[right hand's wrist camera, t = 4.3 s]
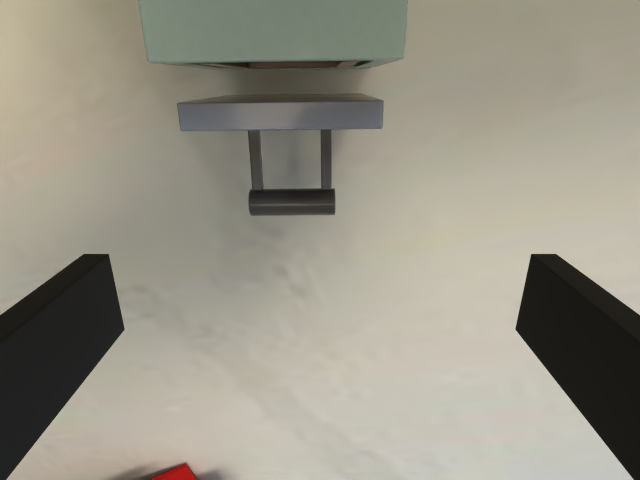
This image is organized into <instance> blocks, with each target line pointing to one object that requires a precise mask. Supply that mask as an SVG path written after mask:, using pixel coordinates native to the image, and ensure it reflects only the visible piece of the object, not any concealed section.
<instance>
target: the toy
mask: <svg viewBox="0 0 640 480" xmlns="http://www.w3.org/2000/svg"><path fill="white" fill-rule="evenodd" d="M150 480H197V479H196V477H195V476H194V475H193V473H192V472H191V470H190V469H189V467H188V466H187V465H186V464H184V465H182V466H180V467H178V468H175V469H173V470H171V471H169V472H166V473H164V474H162V475H160V476H157V477H155V478H153V479H150Z"/></svg>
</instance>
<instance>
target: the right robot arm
mask: <svg viewBox="0 0 640 480" xmlns="http://www.w3.org/2000/svg"><path fill="white" fill-rule="evenodd" d="M123 331H124V325H123V320H122V315H121V310H120V306H119V301H118V296H117V291H116V287H115V282H114V277H113V272H112V268H111V263H110V258H109V254H83V255H82V256H81V257H79V258H78V259H77V260H75V261H74V262H72V263H71V264H70V265H68V266H67V267H66V268H64V269H63V270H62V271H60V272H59V273H57V274H56V275H55V276H53V277H52V278H51V279H49V280H48V281H46V282H45V283H44V284H42V285H41V286H40V287H38V288H37V289H36V290H34V291H33V292H31V293H30V294H29V295H27V296H26V297H25V298H23V299H22V300H20V301H19V302H18V303H16V304H15V305H14V306H12V307H11V308H10V309H8V310H7V311H5V312H4V313H3V314H1V315H0V480H6V479H7V478H8V477H9V475H10V474H11V473H12V471H13V470H14V469H15V468H16V466H17V465H18V464H19V463H20V461H21V460H22V459H23V458H24V456H25V455H26V454H27V452H28V451H29V450H30V449H31V447H32V446H33V445H34V444H35V442H36V441H37V440H38V439H39V437H40V436H41V435H42V433H43V432H44V431H45V430H46V428H47V427H48V426H49V425H50V423H51V422H52V421H53V419H54V418H55V417H56V416H57V414H58V413H59V412H60V411H61V409H62V408H63V407H64V406H65V404H66V403H67V402H68V400H69V399H70V398H71V397H72V395H73V394H74V393H75V392H76V390H77V389H78V388H79V387H80V385H81V384H82V383H83V381H84V380H85V379H86V378H87V376H88V375H89V374H90V373H91V371H92V370H93V369H94V367H95V366H96V365H97V364H98V362H99V361H100V360H101V359H102V357H103V356H104V355H105V354H106V352H107V351H108V350H109V348H110V347H111V346H112V345H113V343H114V342H115V341H116V340H117V338H118V337H119V336H120V335H121V333H122V332H123ZM516 331H517V332H518V333H519V335H520V336H521V337H522V338H523V340H524V341H525V342H526V343H527V345H528V346H529V347H530V348H531V350H532V351H533V352H534V354H535V355H536V356H537V357H538V359H539V360H540V361H541V362H542V364H543V365H544V366H545V367H546V369H547V370H548V371H549V373H550V374H551V375H552V376H553V378H554V379H555V380H556V381H557V383H558V384H559V385H560V387H561V388H562V389H563V390H564V392H565V393H566V394H567V395H568V397H569V398H570V399H571V400H572V402H573V403H574V404H575V406H576V407H577V408H578V409H579V411H580V412H581V413H582V414H583V416H584V417H585V418H586V419H587V421H588V422H589V423H590V425H591V426H592V427H593V428H594V430H595V431H596V432H597V433H598V435H599V436H600V437H601V439H602V440H603V441H604V442H605V444H606V445H607V446H608V447H609V449H610V450H611V451H612V452H613V454H614V455H615V456H616V458H617V459H618V460H619V461H620V463H621V464H622V465H623V466H624V468H625V469H626V470H627V471H628V473H629V474H630V475H631V477H632V478H633V479H634V480H640V315H639V314H637V313H636V312H635V311H633V310H632V309H630V308H629V307H628V306H626V305H625V304H624V303H622V302H621V301H620V300H618V299H617V298H615V297H614V296H613V295H611V294H610V293H609V292H607V291H606V290H604V289H603V288H602V287H600V286H599V285H598V284H596V283H595V282H594V281H592V280H591V279H589V278H588V277H587V276H585V275H584V274H583V273H581V272H580V271H578V270H577V269H576V268H574V267H573V266H572V265H570V264H569V263H568V262H566V261H565V260H563V259H562V258H561V257H559V256H558V255H557V254H531V258H530V263H529V268H528V272H527V277H526V282H525V287H524V291H523V296H522V301H521V306H520V310H519V315H518V320H517V325H516Z"/></svg>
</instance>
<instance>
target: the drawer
mask: <svg viewBox="0 0 640 480" xmlns="http://www.w3.org/2000/svg"><path fill="white" fill-rule="evenodd" d="M358 62H360V61H292V62H219V63H198V64H204V65H212V66H219V67H226V68H233V69H295V68H348V67H350V66H352V65H354V64H356V63H358ZM383 104H384V101H383V100H380V99H377V98H373V97H370V96H367V95H364V94H293V95H226V96H220V97H214V98H207V99H201V100H194V101H188V102H182V103H177V107H178V114H179V122H180V129H181V131H237V130H248V137H249V150H250V163H251V176H252V189H251V190H250V192H249V211H250V214H251V216H270V215H335V189H334V188H332V179H331V129H382V126H383ZM319 129H321V189H263V188H264V186H263V171H262V156H261V140H260V130H319Z"/></svg>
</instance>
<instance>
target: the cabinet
mask: <svg viewBox="0 0 640 480" xmlns="http://www.w3.org/2000/svg"><path fill="white" fill-rule="evenodd" d="M138 2H139V9H140V15H141V21H142V28H143V34H144V41H145V47H146V53H147V60H148V62H151V63H160V64H170V65H179V66H188V67H198V68H207V69H217V70H244V69H233V68H226V67H219V66H212V65H204V64H198V63H219V62H292V61H360V62H358V63H356V64H354V65H352V66H350V67H348V68H371V67H375V66H378V65H382V64H386V63H389V62H393V61H397V60H400V59H403V58H404V53H405V37H406V20H407V3H408V0H138ZM295 69H319V68H295Z"/></svg>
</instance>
